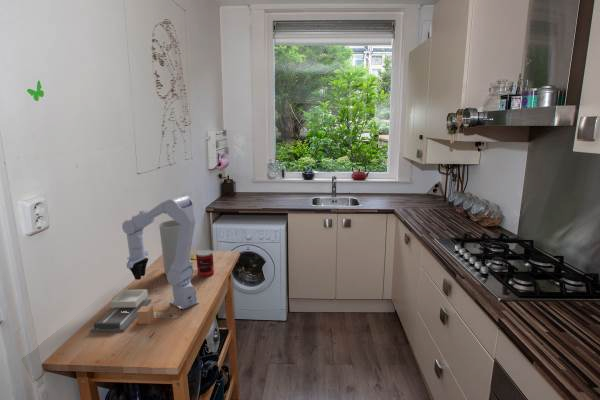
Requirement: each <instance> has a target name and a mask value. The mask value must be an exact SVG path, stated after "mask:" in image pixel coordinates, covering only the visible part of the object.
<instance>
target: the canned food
mask: <svg viewBox="0 0 600 400" xmlns="http://www.w3.org/2000/svg"><path fill="white" fill-rule="evenodd" d="M195 257H196V259H195V260H196V268H197V275H198V276H199V277H203V278H207V277H210V276H213V275H214V273H215V265H214V253H213V250H211V249H201V250H198V251H196V252H195Z"/></svg>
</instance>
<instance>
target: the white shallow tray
mask: <svg viewBox="0 0 600 400" xmlns="http://www.w3.org/2000/svg"><path fill="white" fill-rule="evenodd" d="M148 293H149V292H148V289H123V290H121V291H120V292H119V293H118V294H116V295H115V296H114V297H113V298H112V299H111V300H110V301H109V303H110V308H112V309H113V308H116V309H118V308H119V307H133V309H135V308H136V307H137V306H138V305H139V304H140V303H141V302H142V301H143V300H144V299H147V298H146V297H148V296H149V294H148Z"/></svg>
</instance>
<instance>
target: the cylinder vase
mask: <svg viewBox="0 0 600 400" xmlns="http://www.w3.org/2000/svg"><path fill="white" fill-rule="evenodd" d="M179 226H180V224H179V223H178V222H176V221H175V220H174V219H172V220H167V221H163V222H161V223H159V233H160V234H159V235H160V245H161V251H162V259H163V268H164V274H165V276H167V273H168V272H169V270H170V267H171V265H172V264H173V262H174V261H175V255H176V248H177V241H178V234H179ZM189 260H191V261H192V259H191V258H190V259H189Z"/></svg>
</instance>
